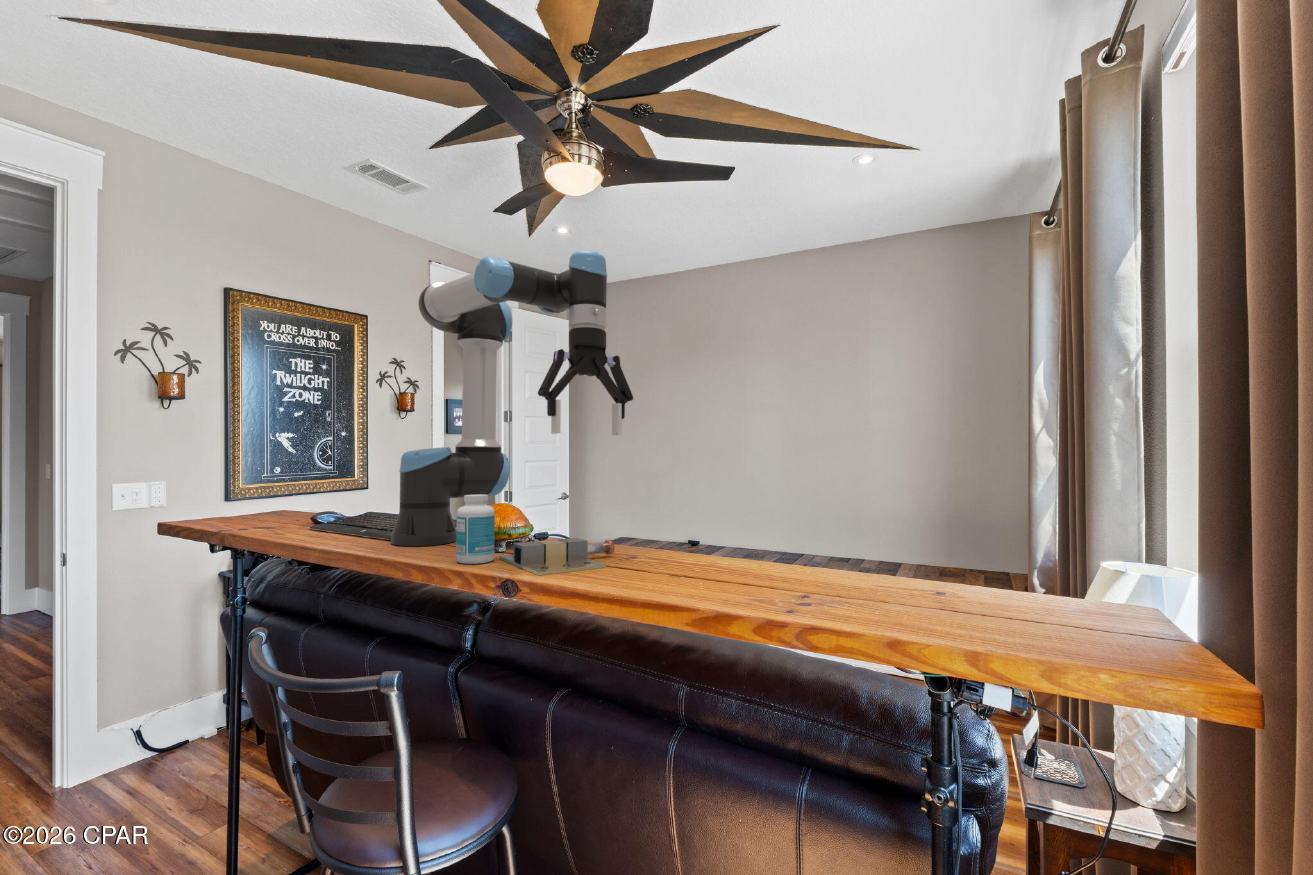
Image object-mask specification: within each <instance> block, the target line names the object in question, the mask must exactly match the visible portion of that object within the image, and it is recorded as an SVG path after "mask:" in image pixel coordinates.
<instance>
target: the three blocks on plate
mask: <svg viewBox="0 0 1313 875" xmlns="http://www.w3.org/2000/svg"><path fill="white" fill-rule="evenodd" d="M588 542H589V541H588V540H585V539H582V538H579V537H571V538H561V539H559V538H558V539H547V540H538V541H537V540H536V541H526V542H525V541H524V542H513V544H512V546H513V548H512V554H509V555H508V554H507V555H499V558H498V559H499V561H500V560H501V561H503V562H505V563H508V564H510V565H513V566H515V567H517V568H520V569H523V570H524V571H527V572H530V573H533V574H535V575H536V576H545V575H554V574H563V573H568V572H569V573H570V572H571V573H572V572H579V571H587V570H594V569H595V570H596V569H602V568H607V563H605V562H600V561H597V560H594V559H591V558H588V556H589V555H588V544H589V543H588Z"/></svg>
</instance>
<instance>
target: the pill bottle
mask: <svg viewBox="0 0 1313 875" xmlns="http://www.w3.org/2000/svg"><path fill="white" fill-rule="evenodd" d="M488 500H489V496H488V495H483V494H478V495H464V497H463V501H464V503H465V504H464V505H462V506H461V507H459V508H458V509H457V511H456V531H457V540H456V541H455V542H456V548H455V549H456V551H455V552H456V561H457V562H458V563H459V564H463V565H477V564H479V565H481V564H485V563H491V562H492V561H494V559H495V549H496V548H495V544H496V542H495V540H496V539H495V535H496V534H495V528H496V527H495V525H496V524H495V523H496V522H495V521H496V520H495V519H496V517H495V516H496V512H495V509H494V507H492V506H491V505H488V502H489V501H488Z"/></svg>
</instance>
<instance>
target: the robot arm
mask: <svg viewBox="0 0 1313 875" xmlns="http://www.w3.org/2000/svg"><path fill="white" fill-rule="evenodd" d="M607 273H608V272H607V261H606V257H605V256H604V255H603V254H601V253H600V252H597V251H592V250H579V251H575V252H573V253H571V254H570V257H569V262H568V269H566V270H565V271H562V272H560V273H559V272H558V273H557V272H551V271H548V270H544V269H540V268H536V267H532V266H528V265H525V264H521V263H517V262H513V261H509V260H506V259H503V258H499V257H497V258H496V257H490V256H485V257H483V258H481V259H480V260H479V263H477V265H476V267H475V270H474V272H472V273H470V274H467V275H464V276H463V277H460V278H456V279H454V280H451V281H450V282H449V281H448V282H445V281H437V282H434V283H431V284H429V285H428V286H426V287H425V288H424V289H423V290H422V291H421V292H420V294H419V298H418V309H419V312H420V314H421V316H422V318H423V319H424V321H426V323H428V324H429V325H430V326H431V327H433V328H435V329H436V330H439V331H440V332H441V331H442V332H444V333H449V334H456V335H457V344H458V345H459V346H460V347H461V348H462V350H463V354H462V356H463V357H462V364H463V365H462V400H461V401H462V402H461V403H462V408H461V410H462V411H461V440H460V441H459V442H458V443H456V444H455V450H454V452H453V451H452V449H451V447H450V446H445V447H444V446H442V447H431V448H423V449H414V450H409V451H406V452H404V453H403V454H402V455H401V458H400V466H399V469H398V470H399V511H398V514H397V518H396V521H395V523H394V526H393V529H392V532H391V534H390V544H391V545H394V546H400V547H401V546H402V547H422V546H423V547H425V546H439V545H446V544H451V543H454V542H456V540H457V527H456V525H455V522H454V518H453V515H452V513H451V508H450V507H451V499H455V498H457V499H459V498H461V499H462V498H464V495H478V494H483V495H488V497H493V496H497V495H499V494H500V493H502V492H503V490H504V489H505V487H506V486H507V484H508V481H509V478H510V472H511V471H510V470H511V464H510V461H509V457H508V456H507V454H505V453H503V452H502V446H501V444H500V443H499V442H498V441H497V440H496V432H497V430H496V429H497V428H496V426H497V425H496V424H497V422H496V420H497V416H496V415H497V376H498V374H497V372H498V371H497V370H498V367H497V366H498V351H499V350H500V349H501V348H502V347H503V346H504V341H506V340H507V339H508V338H509V337H510V335H511V330H512V328H513V315H512V311H511V308H510V305H509V304H508V303H507V302H508V301H509V302H516V303H521V304H525V305H530V306H536V307H537V308H538V309H539V310H540V311H542V312H543V313H545V314H550V315H553V314H560V313H563V312H565V311H567V310H569V311H568V327H569V329H570V330H569V331H568V347H569V350H568V351H565V349H562V348H560V349H557V350H555V351H554V352H553V359H552V362H551V365H550V366H549V369H548V371H547V373H546V374H545V376H544V379H543V381H542V382H541V385H540V387H539V389H538V391H537V395H538V396H539V397H542V398H544V399H545V401H547V402H546V404H547V406H546V409H547V410H546V414H547V416H548V417H551V420H550V423H551V427H550V428H551V429H550V430H551V431H550V433H551V435H553V434H554V435H557V434H561V420H562V418H561V416H562V414H561V413H562V412H561V411H562V409H561V408H562V407H561V406H562V404H561V399H557V398H558V397H559V395H560V394H561V393H562V392H563V391H564V390H565V388H566V387H567V386H568V385H569V383H571V381H572V380H573V379H574V378H575V376H576V375H578V376H581V377H582V376H587V377H596V379H597V380H598V381H600V383H601V384H602V385H603V387H604V388H605V390H606V392H608V395H609V396H610V397H611V398H612V400H613V401H614V403H612V404H611V436H621V435H622V420H625V417H626V415H625V414H626V413H625V412H626V411H625V410H626V408H625V407H626V403H628V402H630V401H633V400H634V396H633V393H632V391H631V389H630V385H629V383H628V381H627V378H626V376H625V374H624V371H623V369H622V367H621V358H620V356H619V355H614V356H607V352H606V350H607V332H606V331H605V330H606V329H607V285H608V283H607V280H608V279H607V277H608V274H607ZM566 361H567V362H569V364H570V367H568V369H566V371H565V373H564V374H563V376H561V377H560V379H559V380H558V381H557V382H556V383H555V381H556V379H557V376H558V374H559V372H560V371H561V368H562V366H563V364H564V362H566ZM606 364H607V366H608V367H609V370H610V372H611V375H612V377H611V376H610V373H609V371H608V369H607V368H606V367H605V366H606ZM612 378H613V379H612ZM554 383H555V385H554V386H553V384H554ZM552 386H553V387H552Z"/></svg>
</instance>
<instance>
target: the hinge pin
mask: <svg viewBox="0 0 1313 875" xmlns="http://www.w3.org/2000/svg"><path fill="white" fill-rule="evenodd" d="M615 547H616V546H615V542H614V541H613V540H612V539H606V540H605V541H603V542H594V543H593V542H592V543H588V556H589V555H597V554H605V555H613V554H614V552H615Z"/></svg>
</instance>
